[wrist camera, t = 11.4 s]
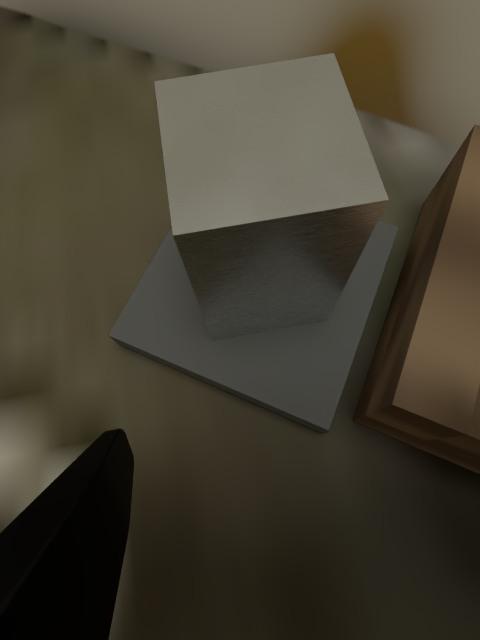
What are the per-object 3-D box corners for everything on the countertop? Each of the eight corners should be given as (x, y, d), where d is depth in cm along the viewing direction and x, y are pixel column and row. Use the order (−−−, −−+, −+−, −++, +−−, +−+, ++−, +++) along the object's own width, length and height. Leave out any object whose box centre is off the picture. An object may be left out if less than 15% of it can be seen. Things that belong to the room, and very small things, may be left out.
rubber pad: (322, 433, 16) (328, 430, 15) (120, 345, 18) (108, 335, 16) (388, 244, 19) (399, 226, 18) (209, 184, 21) (206, 165, 19)
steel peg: (327, 320, 16) (388, 199, 9) (212, 340, 16) (172, 235, 9) (301, 223, 18) (333, 52, 10) (197, 241, 18) (154, 81, 10)
